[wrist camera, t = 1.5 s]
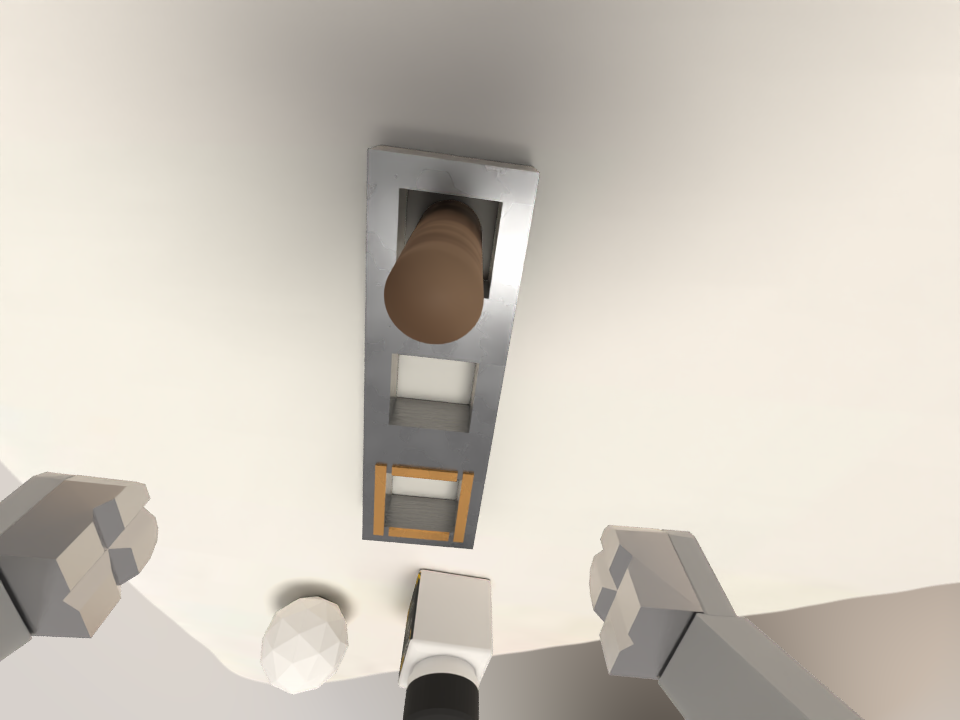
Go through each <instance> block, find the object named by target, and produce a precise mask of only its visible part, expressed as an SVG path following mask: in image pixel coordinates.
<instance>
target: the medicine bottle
mask: <svg viewBox="0 0 960 720" xmlns="http://www.w3.org/2000/svg"><path fill="white" fill-rule="evenodd" d="M492 654H493V639H492V603H491V582H490V580H487V579H481V578H474V577H468V576H461V575H455V574H449V573H442V572H436V571H429V570H420V571H419V574H418V578H417V581H416V585H415V589H414V592H413V596H412V600H411V603H410V607H409V611H408V615H407V623H406V630H405V637H404V644H403V651H402V658H401V665H400V672H399V679H398V685H399V687H401V688H407V690H406V699H405V706H404V715H403V720H479V684H480V681H481V679H482V677H483V675H484V672H485V670H486V668H487V665H488V663H489V661H490V659H491V656H492Z"/></svg>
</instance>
